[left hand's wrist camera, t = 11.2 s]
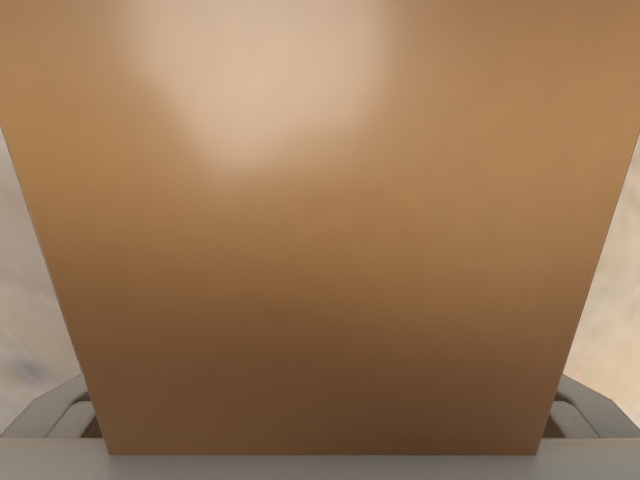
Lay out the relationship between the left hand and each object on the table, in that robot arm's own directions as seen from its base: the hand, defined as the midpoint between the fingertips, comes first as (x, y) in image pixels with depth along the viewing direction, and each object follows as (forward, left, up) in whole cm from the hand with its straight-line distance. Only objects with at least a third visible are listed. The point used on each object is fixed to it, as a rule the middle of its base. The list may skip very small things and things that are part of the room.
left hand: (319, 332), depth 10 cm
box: (+6, -4, -3) cm, 8 cm away
